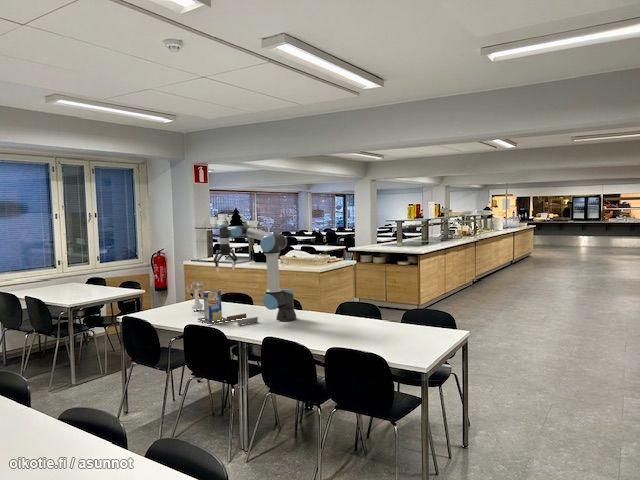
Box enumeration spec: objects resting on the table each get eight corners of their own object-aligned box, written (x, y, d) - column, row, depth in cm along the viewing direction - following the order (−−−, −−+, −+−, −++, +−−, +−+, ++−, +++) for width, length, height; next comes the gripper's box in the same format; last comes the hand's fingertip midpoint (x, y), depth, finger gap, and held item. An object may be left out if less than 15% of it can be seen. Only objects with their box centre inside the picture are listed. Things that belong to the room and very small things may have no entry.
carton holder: (257, 322, 344) (257, 317, 343) (238, 326, 334) (238, 320, 334) (245, 318, 358) (245, 313, 358) (226, 321, 348) (226, 316, 348)
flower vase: (183, 312, 389) (182, 282, 388) (198, 308, 406) (197, 279, 405) (195, 313, 384) (194, 283, 382) (210, 309, 400) (209, 280, 399)
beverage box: (204, 321, 350) (203, 292, 349) (217, 318, 357) (216, 290, 356) (209, 322, 345) (208, 293, 344) (222, 319, 352) (220, 291, 351)
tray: (228, 321, 348) (228, 319, 348) (208, 325, 338) (208, 322, 338) (217, 317, 364) (217, 315, 364) (197, 321, 354) (197, 318, 354)
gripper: (236, 242, 375) (237, 268, 376) (207, 244, 360) (208, 271, 361) (241, 242, 369) (242, 269, 370) (211, 244, 354) (213, 272, 355)
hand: (225, 270), depth 365 cm, fingers open, 13 cm apart
